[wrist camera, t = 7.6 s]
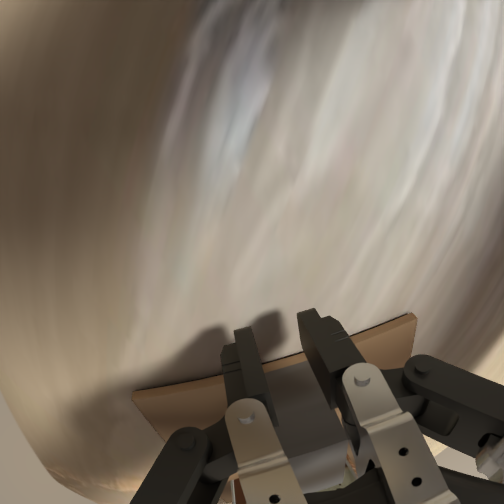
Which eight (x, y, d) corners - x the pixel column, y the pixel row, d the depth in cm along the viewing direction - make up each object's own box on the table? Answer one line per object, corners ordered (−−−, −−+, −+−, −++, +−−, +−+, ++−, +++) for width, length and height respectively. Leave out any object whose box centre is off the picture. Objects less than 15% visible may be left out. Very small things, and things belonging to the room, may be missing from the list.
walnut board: (132, 391, 14) (123, 481, 9) (411, 312, 15) (470, 374, 10) (225, 498, 22) (234, 543, 17) (379, 452, 23) (400, 493, 18)
